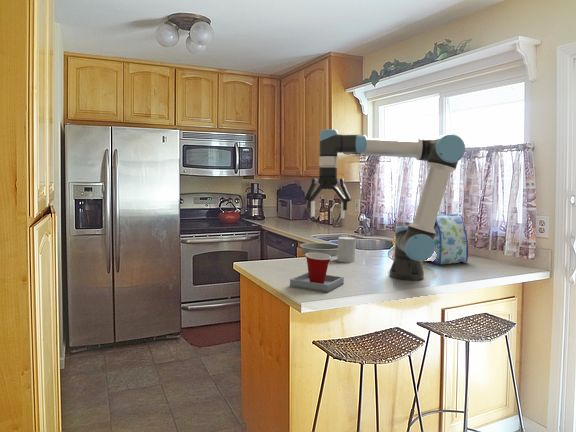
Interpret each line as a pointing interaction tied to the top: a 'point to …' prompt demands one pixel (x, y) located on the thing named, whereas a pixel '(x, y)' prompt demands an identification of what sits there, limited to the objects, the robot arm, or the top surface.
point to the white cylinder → (346, 249)
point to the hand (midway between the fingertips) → (327, 217)
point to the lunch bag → (450, 239)
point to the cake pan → (320, 248)
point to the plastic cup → (317, 266)
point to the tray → (328, 285)
